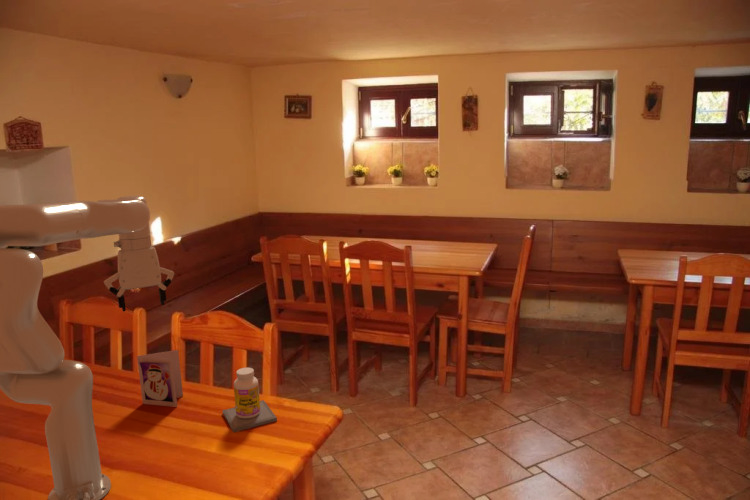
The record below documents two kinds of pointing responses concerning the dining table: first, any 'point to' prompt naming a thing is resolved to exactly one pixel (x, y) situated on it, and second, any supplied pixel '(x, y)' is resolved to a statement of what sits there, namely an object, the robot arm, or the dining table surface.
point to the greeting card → (160, 378)
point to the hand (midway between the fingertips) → (143, 306)
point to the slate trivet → (242, 424)
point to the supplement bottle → (246, 394)
